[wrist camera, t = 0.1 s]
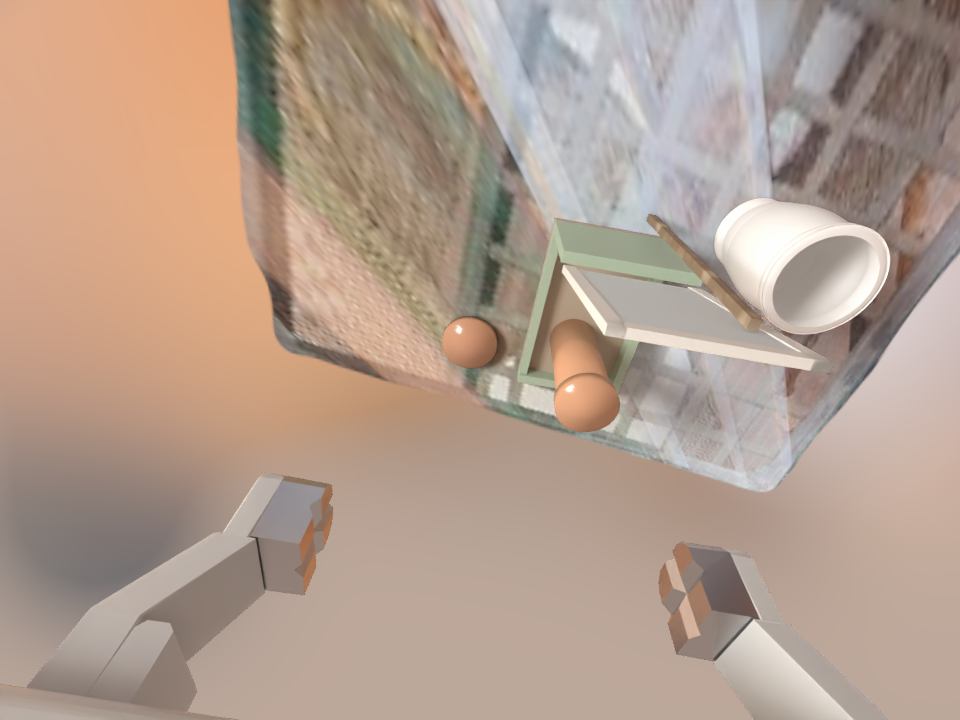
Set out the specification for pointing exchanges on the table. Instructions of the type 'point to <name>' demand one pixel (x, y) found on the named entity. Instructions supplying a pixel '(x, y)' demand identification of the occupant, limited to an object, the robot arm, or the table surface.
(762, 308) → the jar
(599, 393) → the orange-brown capped cylinder
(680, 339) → the lid
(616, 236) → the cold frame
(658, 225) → the prop stick
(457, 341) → the terracotta round disc
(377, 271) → the table surface
